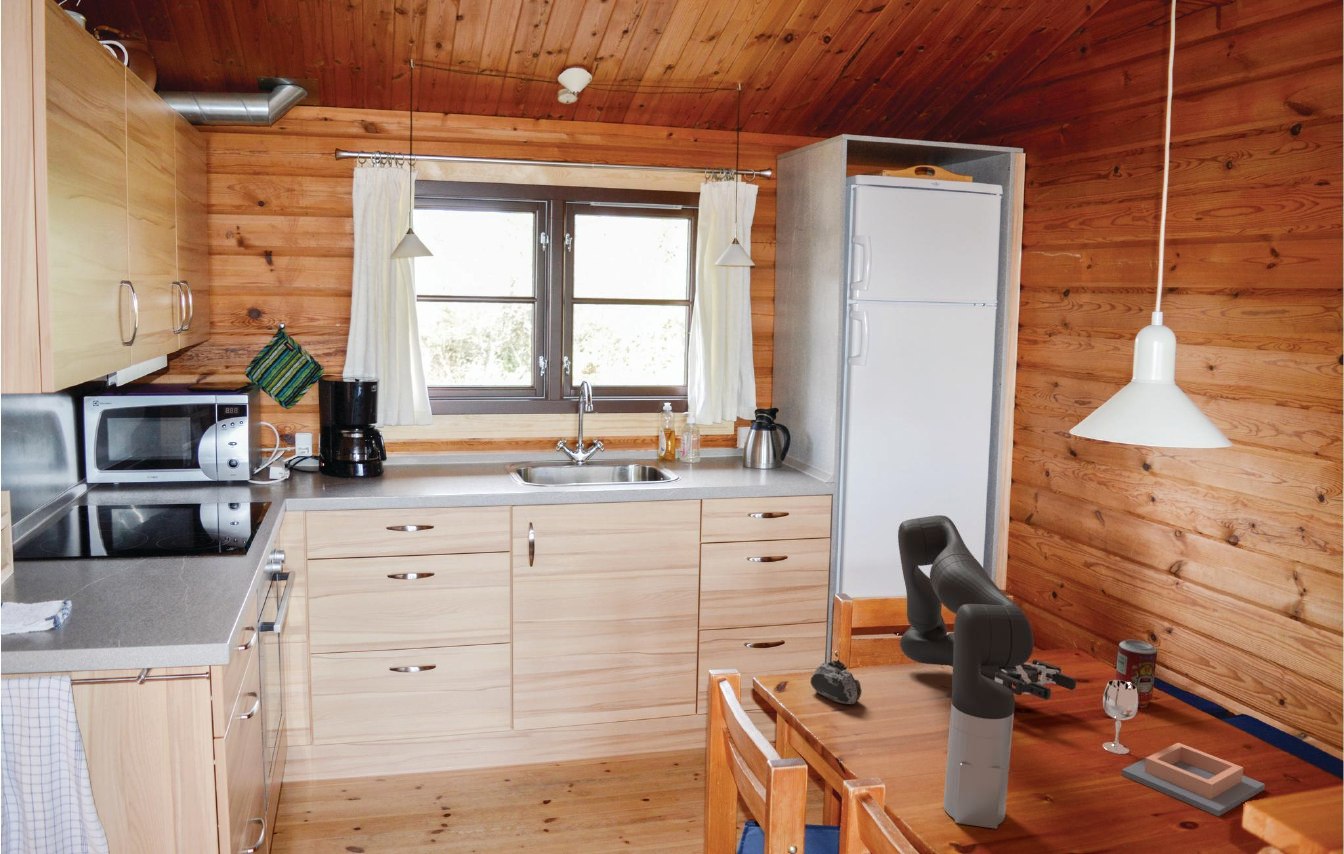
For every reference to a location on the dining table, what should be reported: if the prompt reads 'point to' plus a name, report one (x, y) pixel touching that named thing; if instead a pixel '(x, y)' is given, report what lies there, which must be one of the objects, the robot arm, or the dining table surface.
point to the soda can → (1137, 667)
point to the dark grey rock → (836, 683)
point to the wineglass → (1119, 709)
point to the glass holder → (1195, 778)
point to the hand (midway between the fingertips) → (1062, 689)
